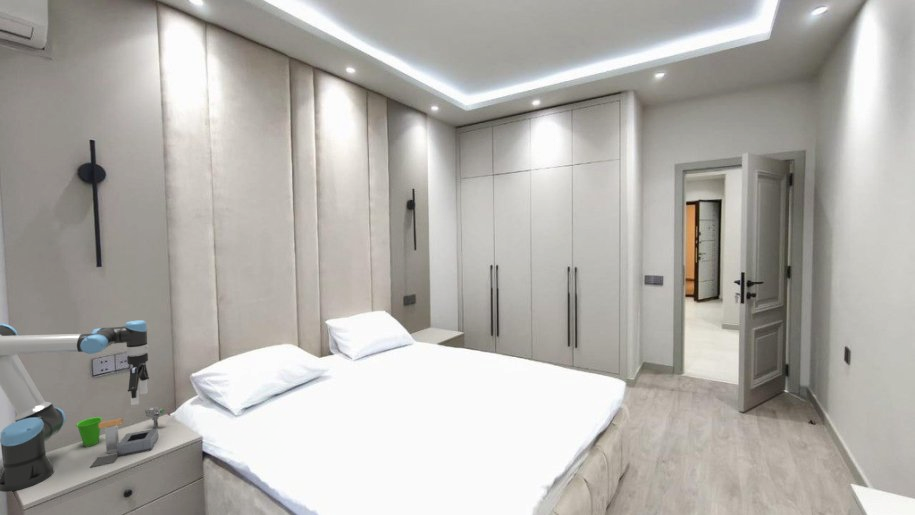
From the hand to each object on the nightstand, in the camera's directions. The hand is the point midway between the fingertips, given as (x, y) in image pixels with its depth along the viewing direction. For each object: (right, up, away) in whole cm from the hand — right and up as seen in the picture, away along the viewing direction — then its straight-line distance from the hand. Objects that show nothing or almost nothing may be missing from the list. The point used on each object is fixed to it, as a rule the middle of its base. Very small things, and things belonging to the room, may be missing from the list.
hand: (139, 398), depth 185 cm
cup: (-25, -23, +3) cm, 34 cm away
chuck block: (+1, -22, -1) cm, 22 cm away
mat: (-5, -23, -12) cm, 26 cm away
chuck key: (-9, -22, -4) cm, 24 cm away
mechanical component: (-6, -21, +17) cm, 28 cm away
